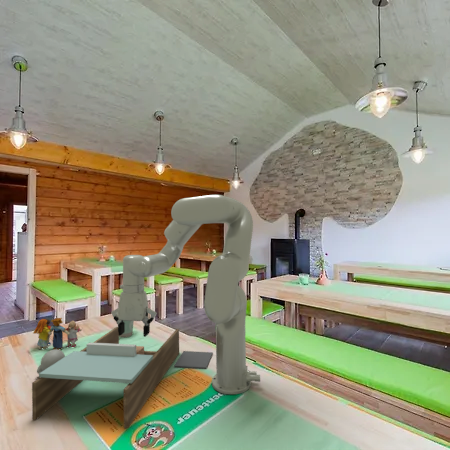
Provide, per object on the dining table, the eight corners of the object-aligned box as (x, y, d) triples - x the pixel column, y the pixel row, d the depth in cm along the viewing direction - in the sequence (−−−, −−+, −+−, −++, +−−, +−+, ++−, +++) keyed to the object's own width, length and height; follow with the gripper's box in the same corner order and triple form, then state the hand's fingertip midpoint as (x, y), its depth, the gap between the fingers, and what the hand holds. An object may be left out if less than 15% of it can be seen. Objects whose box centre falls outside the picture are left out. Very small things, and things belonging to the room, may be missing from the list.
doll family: (83, 345, 121) (82, 315, 121) (67, 355, 111) (66, 322, 112) (41, 342, 124) (41, 313, 125) (22, 351, 115) (22, 320, 115)
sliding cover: (153, 358, 86) (152, 345, 86) (131, 383, 72) (131, 368, 72) (74, 354, 89) (73, 341, 89) (38, 377, 76) (38, 362, 76)
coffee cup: (131, 338, 127) (131, 312, 127) (113, 338, 127) (112, 312, 127) (137, 331, 135) (137, 307, 136) (120, 331, 136) (120, 307, 136)
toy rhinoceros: (57, 391, 91) (64, 369, 90) (32, 373, 94) (38, 351, 93) (75, 379, 97) (82, 358, 96) (51, 362, 101) (57, 342, 100)
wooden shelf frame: (179, 353, 111) (178, 329, 111) (127, 428, 69) (127, 389, 69) (116, 350, 115) (116, 326, 115) (32, 419, 73) (32, 382, 73)
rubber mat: (212, 353, 110) (212, 352, 110) (206, 369, 98) (206, 367, 98) (183, 352, 112) (183, 351, 112) (173, 367, 100) (173, 365, 100)
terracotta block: (144, 362, 104) (144, 346, 104) (138, 369, 99) (137, 352, 99) (131, 361, 105) (131, 345, 105) (125, 368, 100) (124, 351, 100)
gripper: (106, 290, 100) (106, 337, 100) (151, 291, 97) (151, 340, 97) (117, 285, 107) (117, 329, 107) (159, 286, 105) (159, 332, 105)
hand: (133, 334), depth 102 cm, fingers open, 9 cm apart
